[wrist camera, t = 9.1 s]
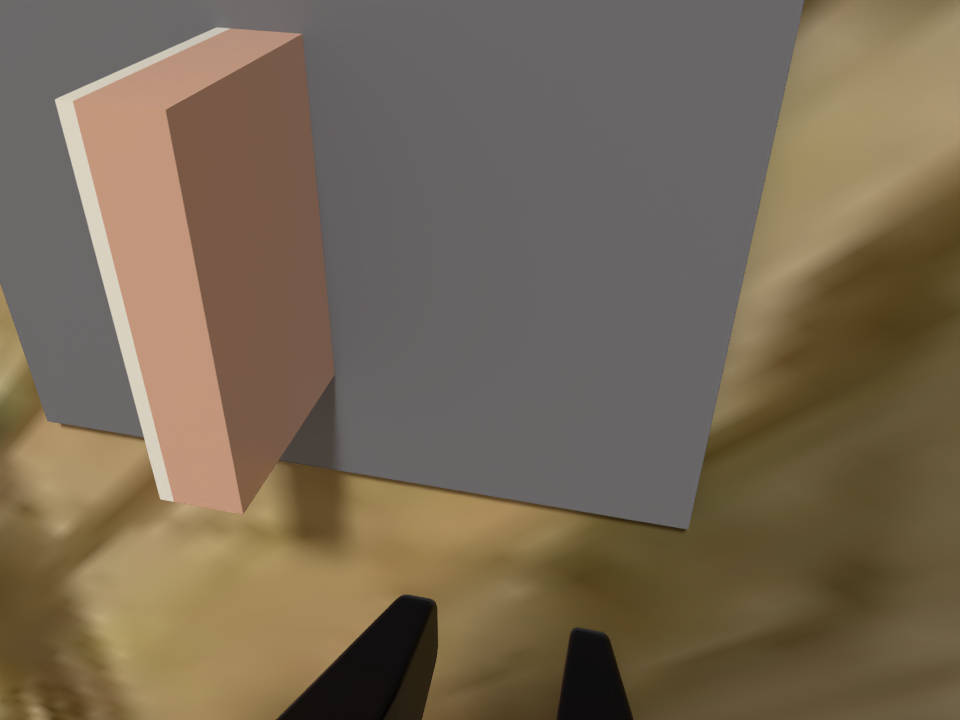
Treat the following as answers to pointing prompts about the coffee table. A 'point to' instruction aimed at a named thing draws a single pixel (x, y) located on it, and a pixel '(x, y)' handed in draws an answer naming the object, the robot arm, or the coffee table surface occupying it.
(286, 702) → the coffee table surface
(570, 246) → the mat
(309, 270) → the tile
